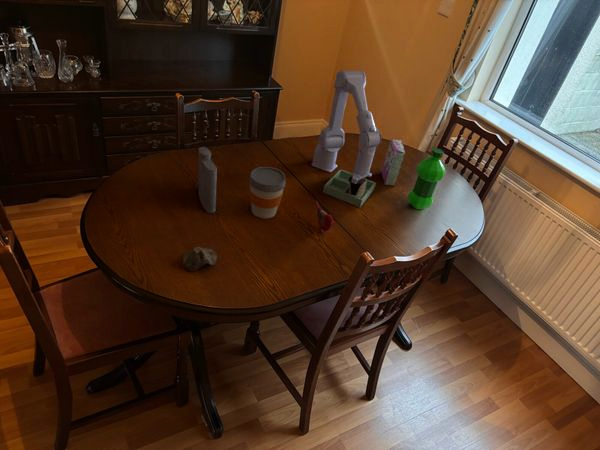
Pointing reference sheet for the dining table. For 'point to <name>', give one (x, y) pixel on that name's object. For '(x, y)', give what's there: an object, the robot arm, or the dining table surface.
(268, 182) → the reusable coffee cup
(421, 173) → the plastic bottle
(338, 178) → the green divided tray
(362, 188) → the paper cup
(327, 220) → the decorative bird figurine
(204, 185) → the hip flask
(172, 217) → the dining table surface
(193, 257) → the grey lumpy rock
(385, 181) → the candy bar box
